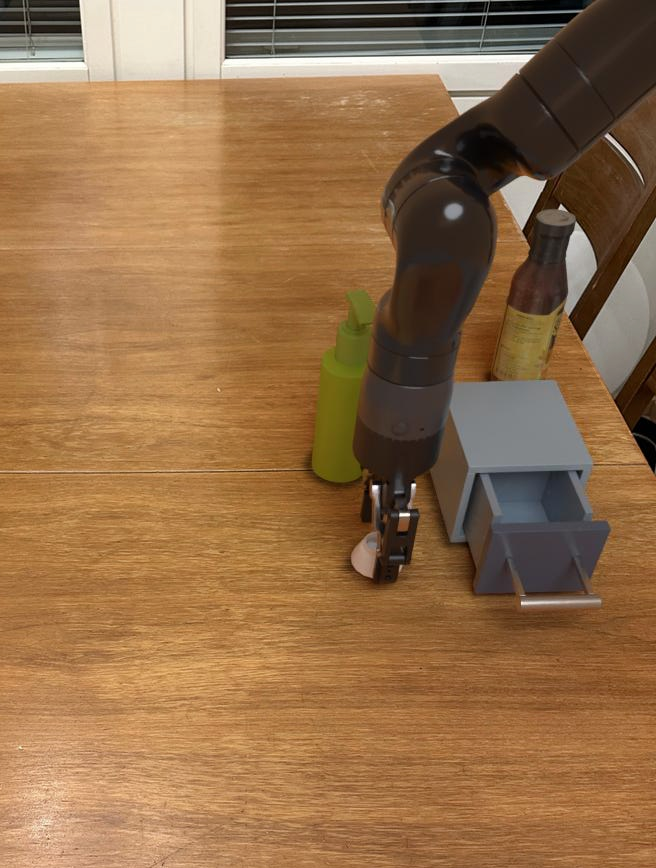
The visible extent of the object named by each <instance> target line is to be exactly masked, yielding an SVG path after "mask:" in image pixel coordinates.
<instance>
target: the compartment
mask: <svg viewBox="0 0 656 868" xmlns="http://www.w3.org/2000/svg"><path fill="white" fill-rule="evenodd" d="M593 516H594V509H593V507H592V504H591V502H590V500H589V498H588V495H587V494H586V491H585V490H584V489H583V486H582V484H581V482H580V480H579V477H578V475H577V473H576V471H575V470H567V471H532V472H498V473H475V477H474V481H473V485H472V489H471V493H470V497H469V501H468V505H467V509H466V513H465V516H464V520H463V526H464V530H465V533H466V536H467V540H468V542H467V543H468V546H469V549H470V552H471V556H472V559H473V563H474V566H475V569H476V571H475V575H474V579H473V582H472V588H473V591H474V594H476V595H480V594H481V595H483V594H484V595H485V594H515V596H516V599H515V609H516V611H517V613H535V612H538V613H539V612H572V611H573V612H575V611H600V610H601V609H602V606H603V598H602V595H601V594H600V593H595V591H594V587H593V586H592V583H591V580H592V577H593V574H594V571H595V569H596V567H597V564H598V562H599V560H600V557H601V555H602V552H603V550H604V547H605V545H606V543H607V540H608V537H609V535H610V533H611V530H612V527H611V526H610V524H609V521H608V520H592V518H593ZM550 592H551V593H555V592H559V593H560V592H583V594H581V593H580V594H579V593H578V594H577V593H576V594H575V593H573V594H541V595H526V593H550Z"/></svg>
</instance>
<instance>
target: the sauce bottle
mask: <svg viewBox="0 0 656 868" xmlns="http://www.w3.org/2000/svg"><path fill="white" fill-rule="evenodd" d="M576 222H577V218H576V216H575V215H574V214H573V213H572V212H569V211H566V210H564V209H563V210H562V209H558V208H557V209H556V208H550V209H544V210H541V211H538V212H537V213H536V215H535V219H534V223H533V235H532V239H531V243H530V248H529V249H528V252H527V257H526V258H525V260H524V261H523V262H522V263H521V264H520V265H519V266H518V267H517V268H516V270H515V271H514V273H513V275H512V278H511V281H510V286H509V292H508V294H507V295H508V296H507V297H506V299H505V304H504V309H503V313H502V318H501V322H500V327H499V331H498V335H497V340H496V344H495V349H494V354H493V358H492V363H491V367H490V372H491V373H490V382H491V381H524V380H545V378H546V377H547V372H548V369H549V365H550V362H551V358H552V355H553V351H554V347H555V344H556V341H557V340H556V339H557V336H558V333H559V329H560V325H561V322H562V318H563V314H564V310H565V306H566V303H567V299H568V296H569V281H568V280H569V279H568V271H567V270H568V269H567V252H568V248H569V244H570V239H571V236H572V235H573V233H574V232H575V227H576V224H577V223H576Z"/></svg>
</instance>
